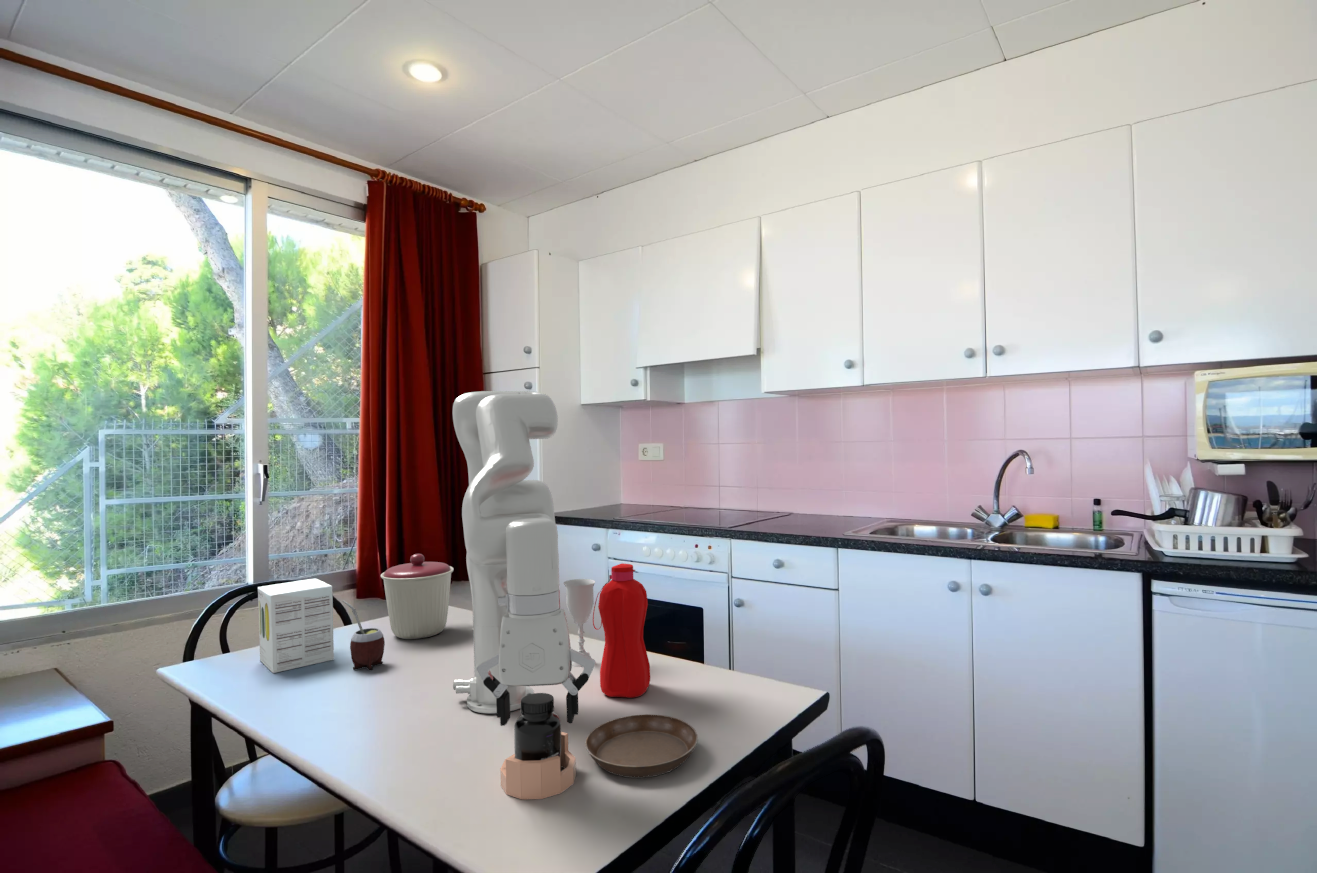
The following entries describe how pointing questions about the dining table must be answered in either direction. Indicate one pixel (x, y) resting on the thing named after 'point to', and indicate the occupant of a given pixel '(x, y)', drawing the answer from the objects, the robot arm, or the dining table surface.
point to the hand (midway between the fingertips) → (538, 720)
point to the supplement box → (295, 624)
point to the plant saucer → (641, 745)
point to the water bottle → (623, 635)
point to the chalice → (580, 606)
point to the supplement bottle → (537, 729)
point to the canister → (417, 597)
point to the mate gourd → (366, 646)
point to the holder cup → (539, 775)
